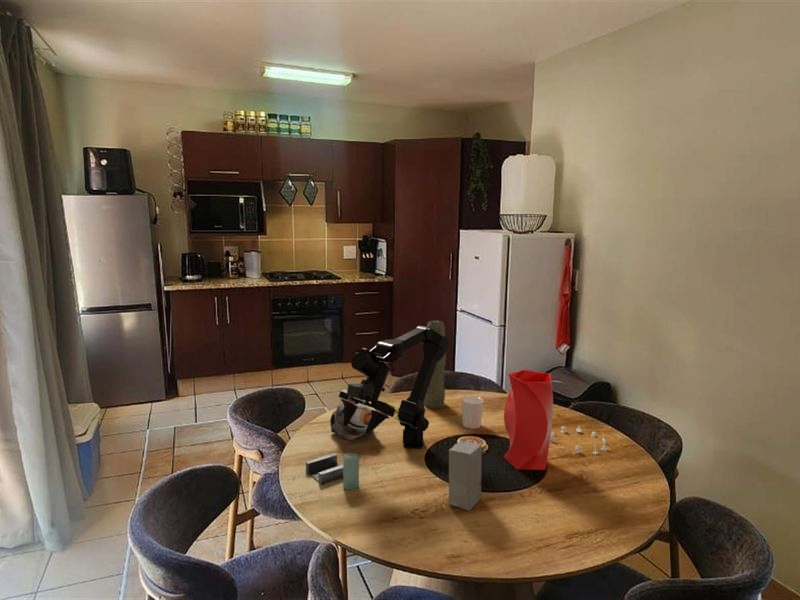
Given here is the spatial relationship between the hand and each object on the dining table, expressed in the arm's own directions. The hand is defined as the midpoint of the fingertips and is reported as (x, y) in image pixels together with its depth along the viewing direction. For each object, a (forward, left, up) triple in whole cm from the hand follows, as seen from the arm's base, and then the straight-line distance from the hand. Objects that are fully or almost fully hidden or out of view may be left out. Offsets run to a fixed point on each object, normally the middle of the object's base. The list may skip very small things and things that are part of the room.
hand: (355, 430), depth 152 cm
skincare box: (-32, +12, -14) cm, 37 cm away
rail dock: (+8, 0, -14) cm, 16 cm away
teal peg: (0, +7, -14) cm, 16 cm away
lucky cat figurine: (+4, -28, -14) cm, 32 cm away
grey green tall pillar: (-24, -60, -14) cm, 66 cm away
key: (-11, -48, -15) cm, 51 cm away
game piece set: (-74, -29, -15) cm, 81 cm away
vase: (-53, -13, -14) cm, 56 cm away
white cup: (-38, -40, -14) cm, 57 cm away
